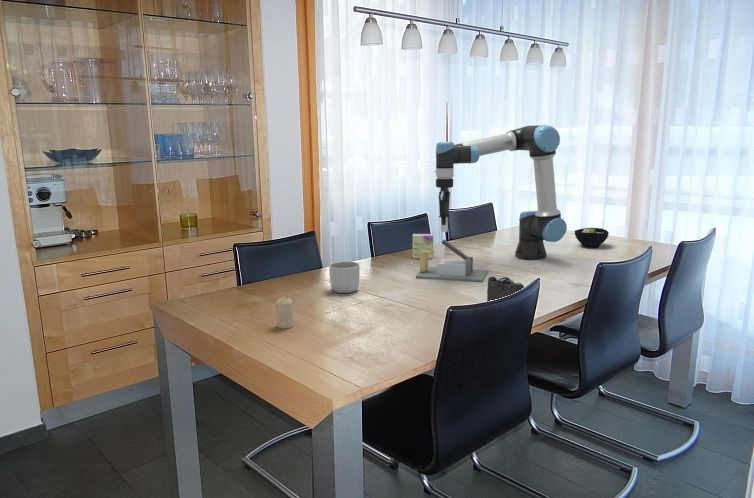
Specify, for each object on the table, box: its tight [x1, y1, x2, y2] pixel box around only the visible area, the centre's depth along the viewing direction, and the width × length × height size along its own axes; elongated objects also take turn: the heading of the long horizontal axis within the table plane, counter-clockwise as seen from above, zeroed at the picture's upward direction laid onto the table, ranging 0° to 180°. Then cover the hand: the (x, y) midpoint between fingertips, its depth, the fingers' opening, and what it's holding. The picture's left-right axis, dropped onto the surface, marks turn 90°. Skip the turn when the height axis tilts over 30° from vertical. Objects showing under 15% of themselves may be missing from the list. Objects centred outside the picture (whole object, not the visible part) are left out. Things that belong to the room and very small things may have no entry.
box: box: [412, 233, 434, 260], centre depth 296 cm, size 10×6×12 cm, turn 84°
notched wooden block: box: [419, 249, 435, 272], centre depth 263 cm, size 5×5×9 cm
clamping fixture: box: [415, 256, 489, 283], centre depth 260 cm, size 29×18×8 cm, turn 72°
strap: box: [441, 239, 472, 261], centre depth 258 cm, size 15×3×1 cm
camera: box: [486, 275, 525, 302], centre depth 218 cm, size 14×11×10 cm
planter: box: [328, 261, 360, 294], centre depth 239 cm, size 12×12×11 cm
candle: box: [275, 296, 295, 329], centre depth 197 cm, size 6×6×10 cm
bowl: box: [574, 227, 610, 249], centre depth 312 cm, size 17×17×10 cm
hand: (444, 231), depth 257 cm, fingers closed
